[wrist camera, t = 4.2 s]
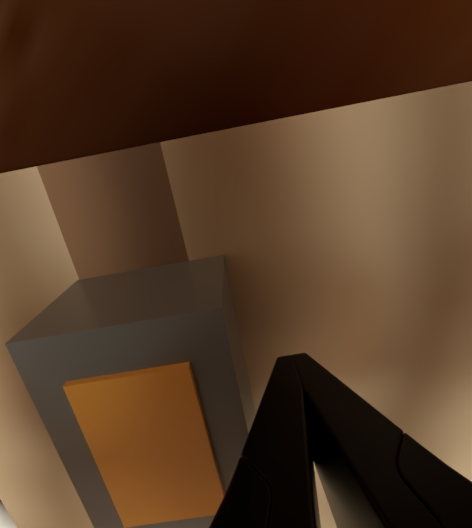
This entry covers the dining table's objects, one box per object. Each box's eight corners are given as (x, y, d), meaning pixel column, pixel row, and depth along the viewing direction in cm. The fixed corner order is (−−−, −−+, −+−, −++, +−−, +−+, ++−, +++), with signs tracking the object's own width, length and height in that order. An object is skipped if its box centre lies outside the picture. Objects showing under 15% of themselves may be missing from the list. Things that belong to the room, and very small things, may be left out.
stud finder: (224, 254, 9) (220, 312, 6) (258, 428, 11) (269, 537, 8) (77, 280, 9) (-1, 348, 6) (138, 446, 11) (103, 559, 8)
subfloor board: (622, 53, 8) (673, 41, 7) (518, 596, 16) (536, 625, 15) (-137, 202, 9) (-179, 208, 8) (117, 648, 17) (110, 678, 16)
